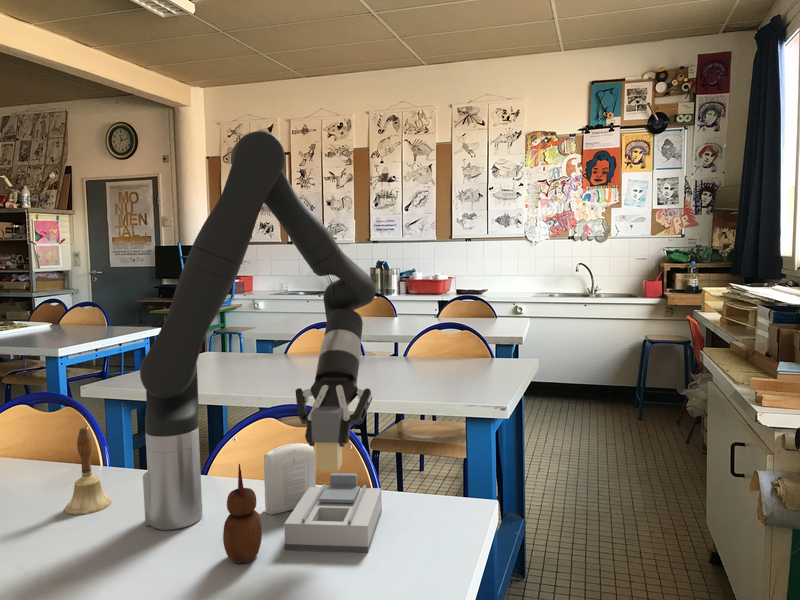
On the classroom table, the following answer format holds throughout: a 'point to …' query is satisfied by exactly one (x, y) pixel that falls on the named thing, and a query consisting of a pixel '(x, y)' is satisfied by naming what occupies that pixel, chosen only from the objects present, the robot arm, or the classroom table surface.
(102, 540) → the classroom table surface
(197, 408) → the robot arm
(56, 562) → the classroom table surface
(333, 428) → the plug
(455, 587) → the classroom table surface
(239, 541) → the wooden figurine
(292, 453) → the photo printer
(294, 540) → the socket
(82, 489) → the hand bell
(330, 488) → the shutter
